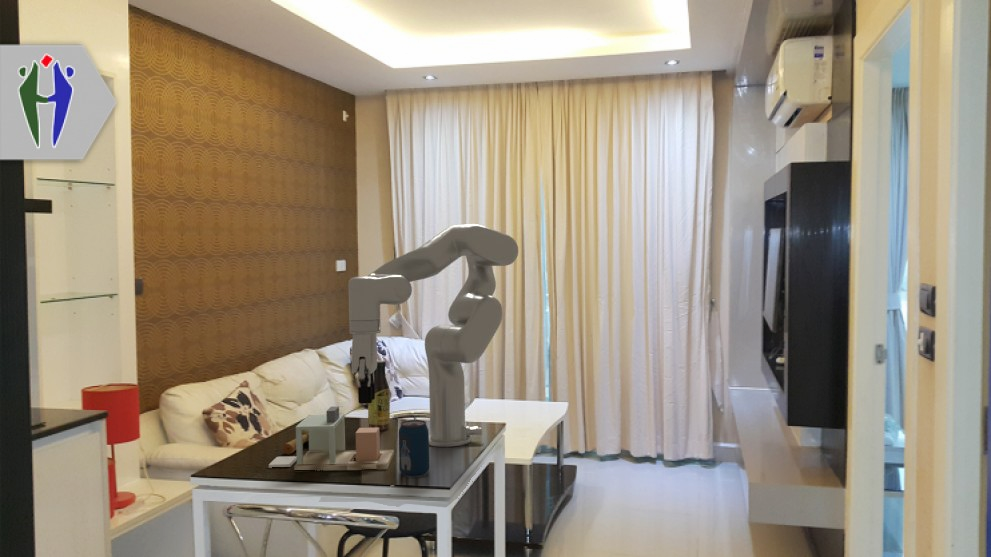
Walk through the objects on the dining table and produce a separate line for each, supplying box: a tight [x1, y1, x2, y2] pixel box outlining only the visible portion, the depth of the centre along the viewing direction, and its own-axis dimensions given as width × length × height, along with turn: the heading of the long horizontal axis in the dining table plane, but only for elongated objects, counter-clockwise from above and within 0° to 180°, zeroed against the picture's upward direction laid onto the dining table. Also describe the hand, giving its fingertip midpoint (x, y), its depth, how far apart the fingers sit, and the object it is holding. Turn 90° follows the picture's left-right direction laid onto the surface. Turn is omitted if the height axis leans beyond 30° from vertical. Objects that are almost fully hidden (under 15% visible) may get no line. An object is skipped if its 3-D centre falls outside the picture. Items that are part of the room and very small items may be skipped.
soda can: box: [398, 419, 430, 478], centre depth 174 cm, size 7×7×12 cm
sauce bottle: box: [367, 360, 391, 431], centre depth 219 cm, size 7×6×20 cm
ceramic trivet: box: [268, 455, 297, 469], centre depth 185 cm, size 5×7×1 cm
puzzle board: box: [293, 449, 395, 472], centre depth 185 cm, size 22×13×1 cm, turn 90°
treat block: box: [355, 427, 381, 461], centre depth 185 cm, size 5×5×8 cm
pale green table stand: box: [295, 406, 346, 464], centre depth 185 cm, size 9×13×12 cm
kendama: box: [282, 430, 309, 455], centre depth 202 cm, size 8×6×18 cm
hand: (366, 400), depth 184 cm, fingers open, 3 cm apart
